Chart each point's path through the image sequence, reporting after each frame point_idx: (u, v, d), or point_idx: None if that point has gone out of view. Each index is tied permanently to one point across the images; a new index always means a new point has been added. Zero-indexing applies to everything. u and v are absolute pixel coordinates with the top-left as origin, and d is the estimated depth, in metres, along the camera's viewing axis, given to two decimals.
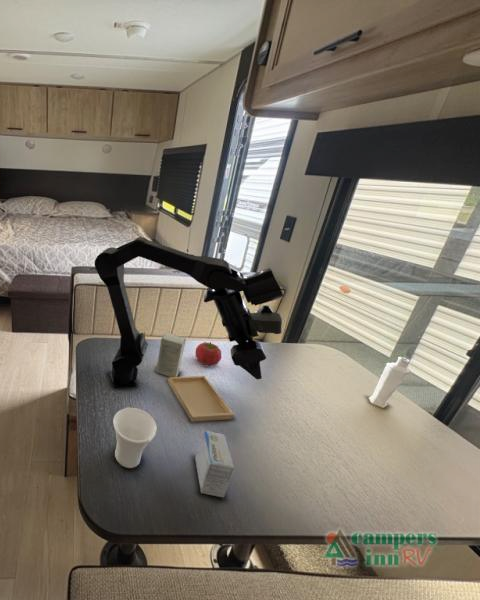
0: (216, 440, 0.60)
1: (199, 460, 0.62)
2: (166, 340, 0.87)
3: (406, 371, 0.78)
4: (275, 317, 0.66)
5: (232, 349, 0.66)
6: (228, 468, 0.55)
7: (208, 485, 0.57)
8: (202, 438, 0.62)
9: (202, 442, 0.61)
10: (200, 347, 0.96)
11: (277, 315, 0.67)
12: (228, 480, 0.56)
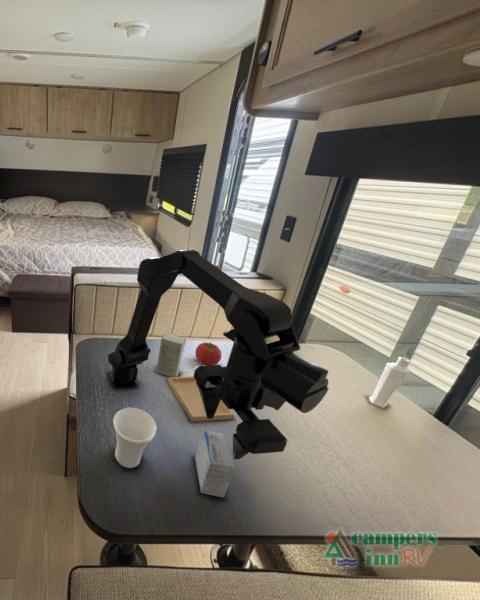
0: (216, 440, 0.60)
1: (199, 460, 0.62)
2: (166, 340, 0.87)
3: (406, 371, 0.78)
4: None
5: (245, 427, 0.47)
6: (228, 468, 0.55)
7: (208, 485, 0.57)
8: (202, 438, 0.62)
9: (202, 442, 0.61)
10: (200, 347, 0.96)
11: None
12: (228, 480, 0.56)
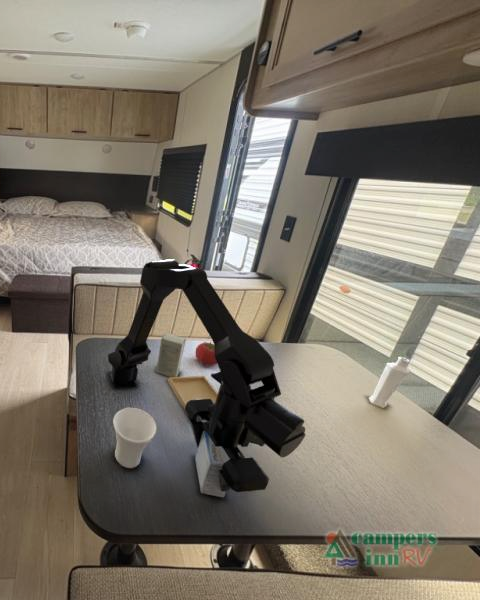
0: None
1: (199, 460, 0.62)
2: (166, 340, 0.87)
3: (406, 371, 0.78)
4: None
5: (230, 466, 0.51)
6: None
7: (208, 485, 0.57)
8: (202, 438, 0.62)
9: (202, 442, 0.61)
10: (200, 347, 0.96)
11: None
12: None
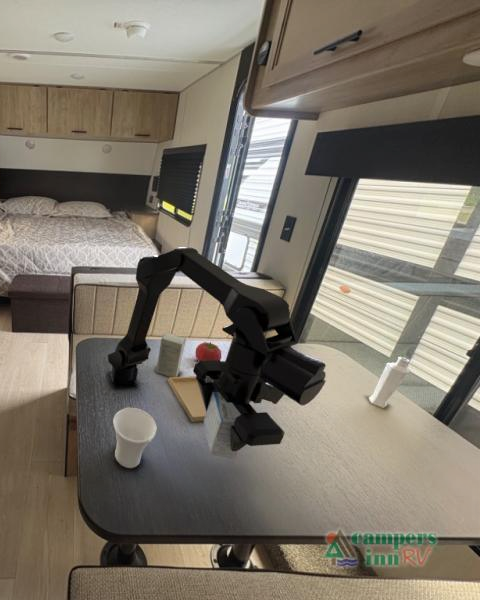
0: None
1: (208, 422, 0.59)
2: (166, 340, 0.87)
3: (406, 371, 0.78)
4: None
5: (243, 420, 0.48)
6: None
7: (218, 445, 0.55)
8: (211, 399, 0.59)
9: (211, 403, 0.59)
10: (200, 347, 0.96)
11: None
12: None
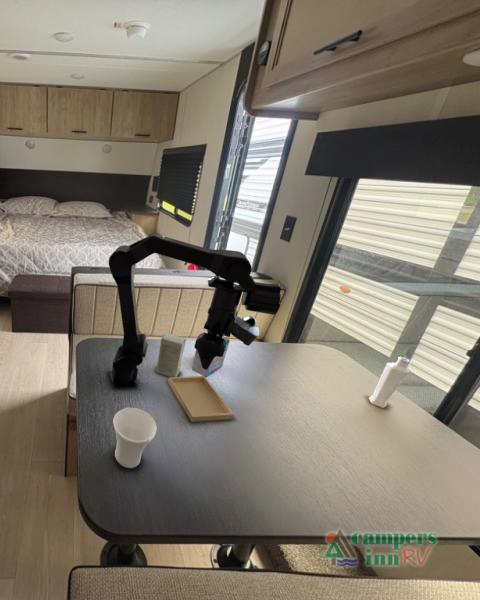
0: None
1: None
2: (166, 340, 0.87)
3: (406, 371, 0.78)
4: (254, 331, 0.69)
5: (201, 334, 0.70)
6: None
7: (196, 362, 0.76)
8: None
9: None
10: None
11: (256, 330, 0.69)
12: None
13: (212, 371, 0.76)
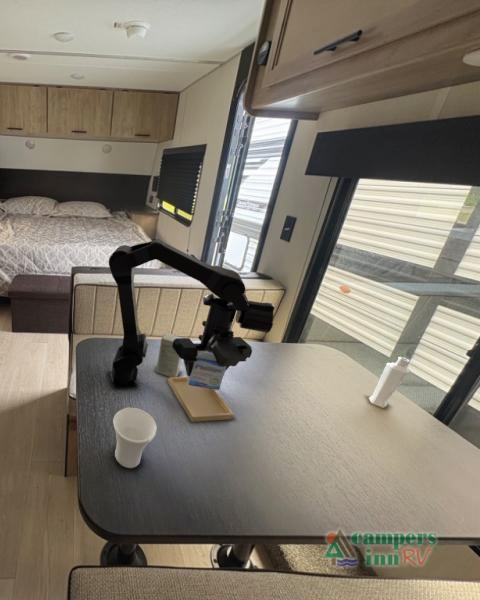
0: None
1: None
2: (166, 340, 0.87)
3: (406, 371, 0.78)
4: (230, 354, 0.68)
5: None
6: None
7: None
8: None
9: None
10: None
11: (236, 356, 0.68)
12: None
13: (198, 383, 0.78)
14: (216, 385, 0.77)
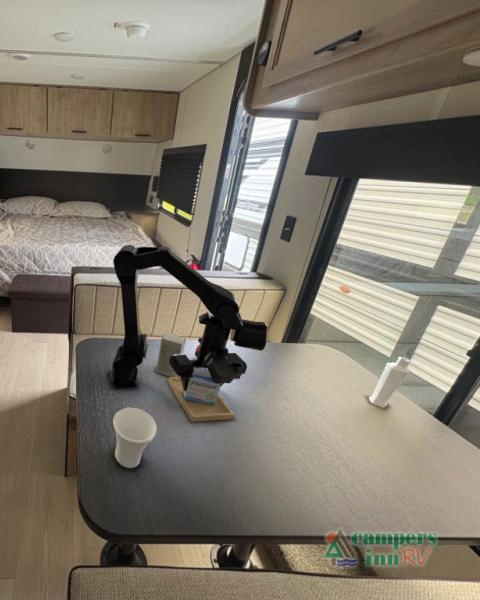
0: None
1: None
2: (166, 340, 0.87)
3: (406, 371, 0.78)
4: (225, 372, 0.70)
5: None
6: None
7: None
8: None
9: None
10: None
11: (230, 374, 0.70)
12: None
13: (194, 399, 0.80)
14: (211, 401, 0.80)
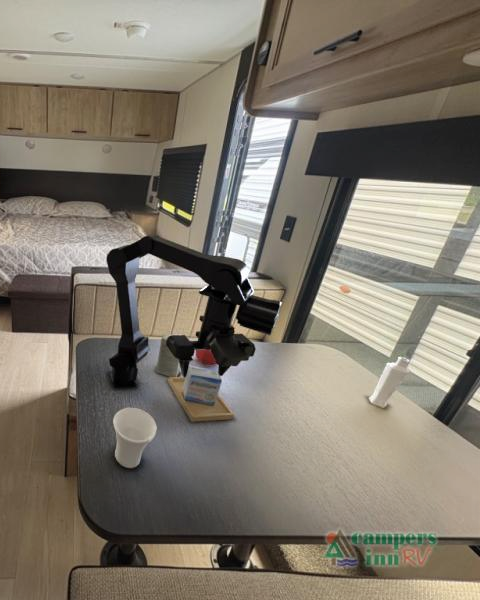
0: (212, 373, 0.79)
1: None
2: (166, 340, 0.87)
3: (406, 371, 0.78)
4: (231, 353, 0.60)
5: None
6: (189, 374, 0.79)
7: (184, 384, 0.83)
8: None
9: None
10: None
11: (237, 355, 0.60)
12: (187, 384, 0.79)
13: (194, 399, 0.80)
14: (211, 401, 0.80)
